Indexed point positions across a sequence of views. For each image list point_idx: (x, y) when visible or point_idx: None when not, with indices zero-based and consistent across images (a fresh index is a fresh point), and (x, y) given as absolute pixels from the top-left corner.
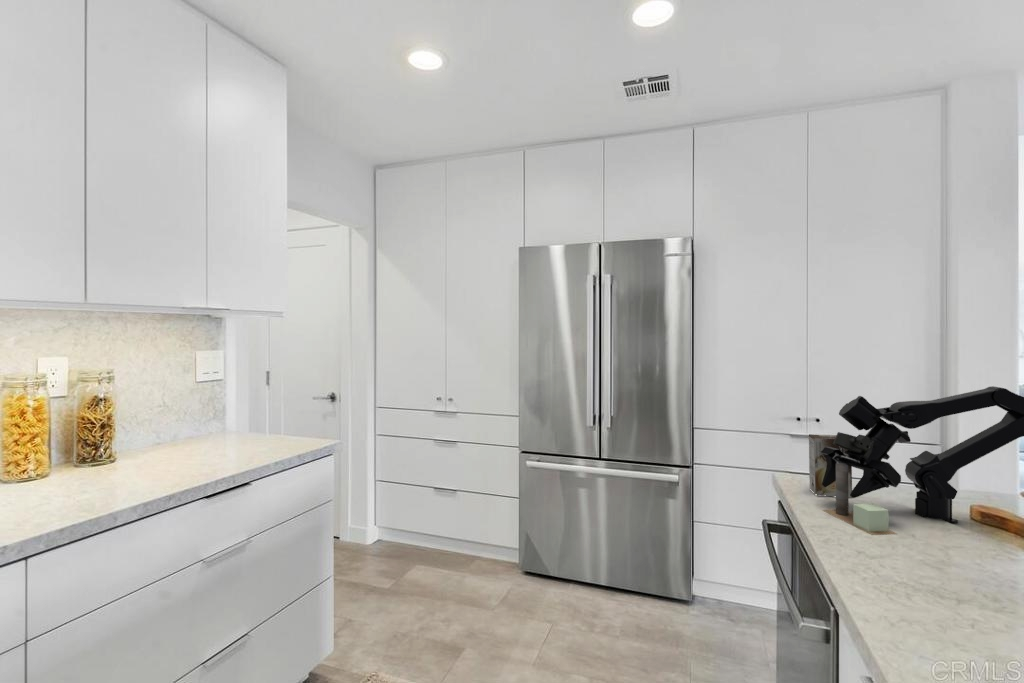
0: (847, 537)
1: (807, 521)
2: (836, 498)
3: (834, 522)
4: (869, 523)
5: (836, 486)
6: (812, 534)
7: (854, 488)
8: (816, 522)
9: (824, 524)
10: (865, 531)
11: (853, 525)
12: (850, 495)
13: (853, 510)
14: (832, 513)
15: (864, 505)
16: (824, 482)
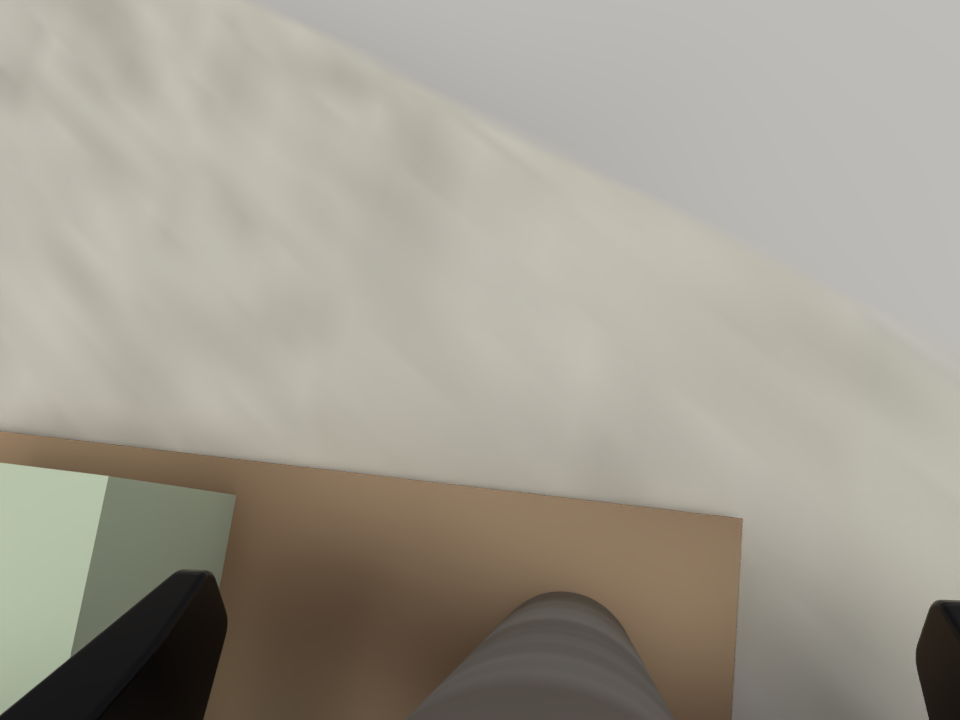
0: (104, 256)
1: (550, 189)
2: (580, 608)
3: (460, 448)
4: None
5: (584, 632)
6: (251, 13)
7: (114, 674)
8: (504, 259)
9: (434, 297)
10: (41, 441)
11: (205, 461)
12: (206, 574)
13: (159, 485)
14: (601, 552)
15: (10, 594)
16: (955, 643)
